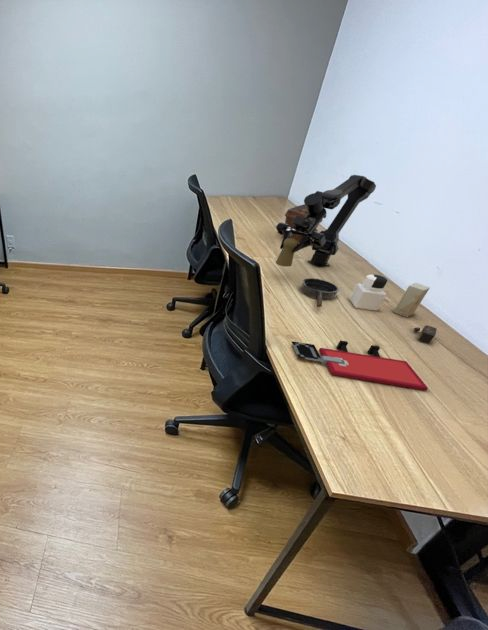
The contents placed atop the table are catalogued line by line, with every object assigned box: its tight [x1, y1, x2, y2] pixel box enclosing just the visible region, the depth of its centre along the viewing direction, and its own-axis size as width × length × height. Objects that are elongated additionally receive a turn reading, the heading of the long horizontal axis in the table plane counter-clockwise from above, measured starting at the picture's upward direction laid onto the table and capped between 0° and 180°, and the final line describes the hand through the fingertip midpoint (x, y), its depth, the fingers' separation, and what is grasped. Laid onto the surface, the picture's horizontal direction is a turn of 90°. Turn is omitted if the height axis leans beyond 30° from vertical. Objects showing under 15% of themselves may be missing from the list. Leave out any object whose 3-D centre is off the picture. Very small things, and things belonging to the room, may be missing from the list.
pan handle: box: [316, 291, 323, 308], centre depth 128 cm, size 12×2×2 cm, turn 147°
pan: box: [299, 277, 340, 301], centre depth 137 cm, size 12×12×4 cm
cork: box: [275, 238, 299, 267], centre depth 142 cm, size 6×6×11 cm
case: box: [284, 203, 324, 243], centre depth 186 cm, size 18×20×18 cm
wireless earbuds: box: [413, 324, 438, 344], centre depth 111 cm, size 5×7×3 cm, turn 133°
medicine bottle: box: [349, 273, 388, 312], centre depth 126 cm, size 7×7×12 cm
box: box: [393, 282, 431, 318], centre depth 121 cm, size 5×4×11 cm
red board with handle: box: [291, 340, 429, 392], centre depth 100 cm, size 30×3×15 cm
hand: (286, 250), depth 141 cm, fingers closed on cork, 5 cm apart
